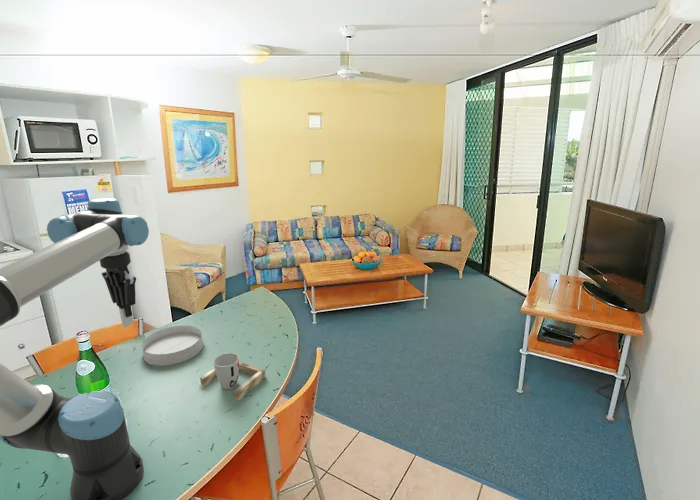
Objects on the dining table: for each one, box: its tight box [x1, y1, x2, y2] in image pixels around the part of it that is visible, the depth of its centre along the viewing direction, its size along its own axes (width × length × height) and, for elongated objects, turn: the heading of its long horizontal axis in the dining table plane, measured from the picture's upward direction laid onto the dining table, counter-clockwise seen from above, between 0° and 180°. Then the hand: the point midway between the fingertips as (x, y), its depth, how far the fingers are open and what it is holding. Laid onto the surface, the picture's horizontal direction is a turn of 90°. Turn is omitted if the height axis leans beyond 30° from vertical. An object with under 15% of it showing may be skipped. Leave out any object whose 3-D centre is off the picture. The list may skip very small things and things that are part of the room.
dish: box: [141, 325, 204, 366], centre depth 148 cm, size 22×22×5 cm
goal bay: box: [199, 360, 266, 401], centre depth 129 cm, size 14×17×3 cm
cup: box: [213, 352, 240, 390], centre depth 126 cm, size 8×8×10 cm
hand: (128, 325), depth 114 cm, fingers closed
